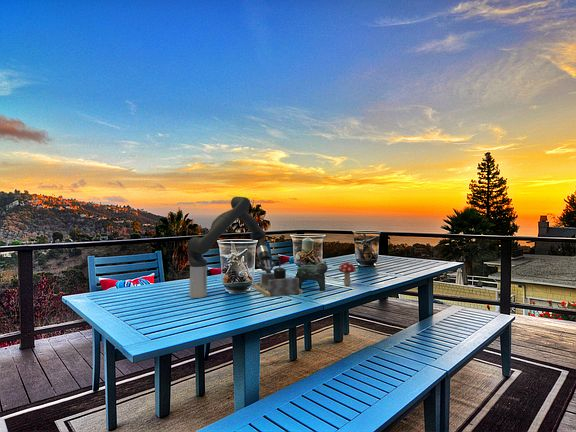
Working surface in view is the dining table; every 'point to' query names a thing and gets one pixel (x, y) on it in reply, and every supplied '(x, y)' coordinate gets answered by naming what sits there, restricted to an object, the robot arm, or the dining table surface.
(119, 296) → the dining table surface
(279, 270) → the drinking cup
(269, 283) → the vise frame
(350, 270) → the decorative mushroom
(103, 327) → the dining table surface
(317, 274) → the dark green legged piece
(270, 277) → the sliding jaw
